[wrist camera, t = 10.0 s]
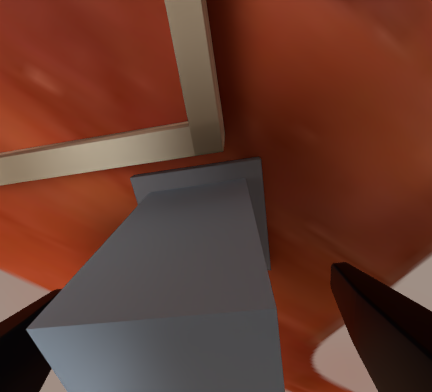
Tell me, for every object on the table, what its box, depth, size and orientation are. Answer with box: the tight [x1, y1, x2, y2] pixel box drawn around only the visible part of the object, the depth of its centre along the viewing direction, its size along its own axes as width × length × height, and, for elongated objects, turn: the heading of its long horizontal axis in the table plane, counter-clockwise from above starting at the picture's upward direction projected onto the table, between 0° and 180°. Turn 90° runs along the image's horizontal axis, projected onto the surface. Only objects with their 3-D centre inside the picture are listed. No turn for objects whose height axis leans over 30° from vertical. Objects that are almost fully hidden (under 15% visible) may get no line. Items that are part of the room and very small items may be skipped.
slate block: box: [26, 178, 285, 392], centre depth 8 cm, size 4×4×7 cm
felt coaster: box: [130, 157, 271, 270], centre depth 11 cm, size 6×6×1 cm
